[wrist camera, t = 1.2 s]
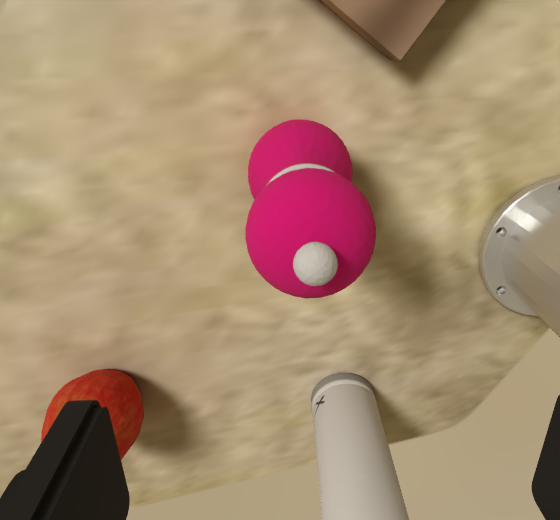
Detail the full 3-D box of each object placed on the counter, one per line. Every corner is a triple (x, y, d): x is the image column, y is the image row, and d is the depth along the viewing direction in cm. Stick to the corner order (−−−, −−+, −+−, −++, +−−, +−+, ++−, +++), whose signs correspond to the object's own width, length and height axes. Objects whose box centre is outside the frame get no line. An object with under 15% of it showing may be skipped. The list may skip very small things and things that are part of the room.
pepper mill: (286, 92, 33) (295, 139, 15) (362, 148, 35) (452, 252, 17) (233, 171, 36) (187, 294, 18) (307, 221, 37) (334, 379, 19)
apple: (60, 354, 43) (-5, 443, 33) (145, 350, 43) (106, 437, 33) (80, 420, 46) (28, 517, 37) (160, 416, 46) (128, 513, 37)
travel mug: (298, 383, 45) (312, 611, 26) (363, 363, 44) (423, 586, 25) (319, 427, 47) (345, 664, 29) (380, 410, 46) (447, 643, 28)
